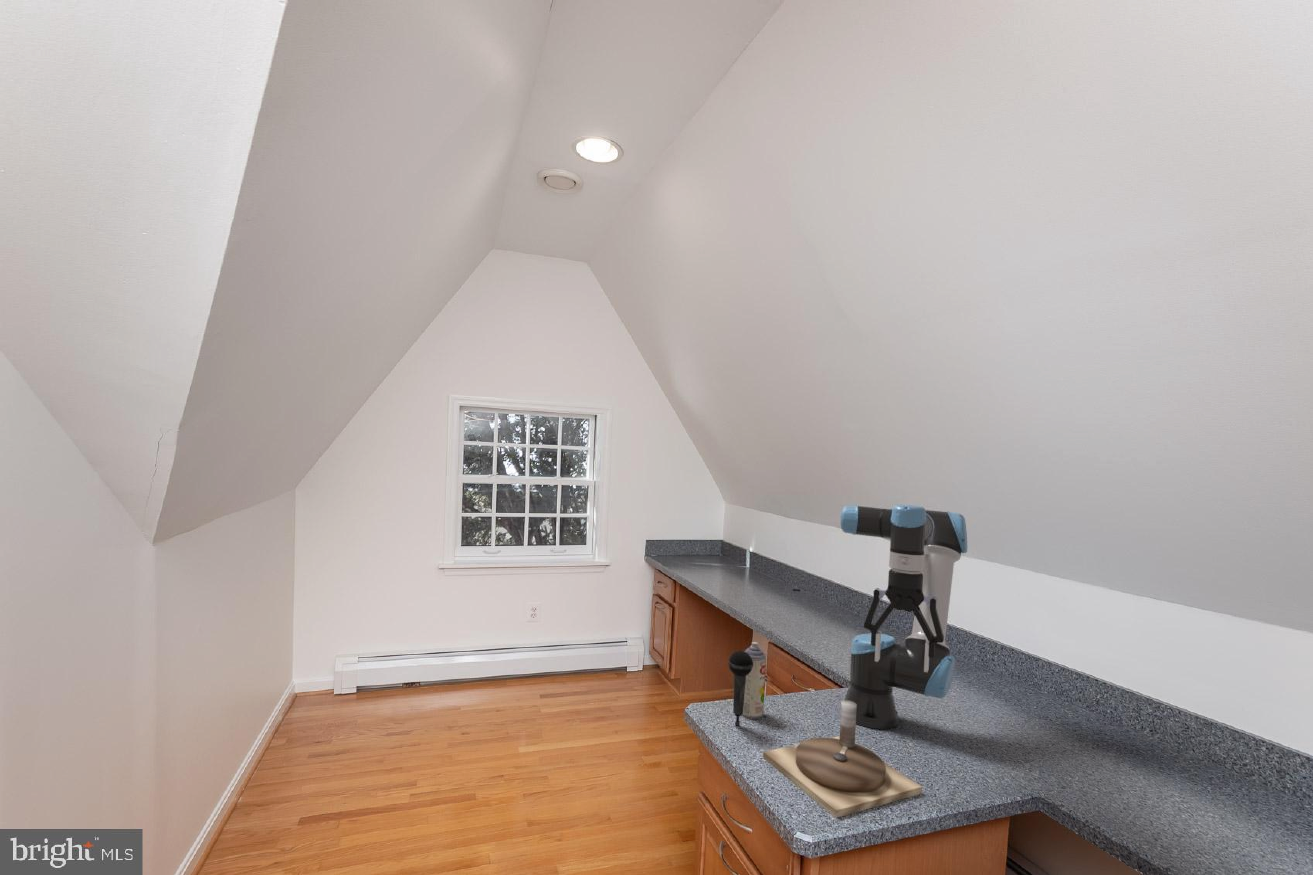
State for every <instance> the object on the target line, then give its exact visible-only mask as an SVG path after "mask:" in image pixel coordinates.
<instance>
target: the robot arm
mask: <svg viewBox="0 0 1313 875" xmlns="http://www.w3.org/2000/svg"><path fill="white" fill-rule="evenodd" d="M839 524H840V529H841V530H842V532H843V533H845V534H852V535H855V536H856V535H857V536H863V537H864V536H867V537H873V538H882V539H884V540H888V541H889V542H890V544H889V545H890V546H889V557H888V558H889V561H888V567H889V568H890V569H889V570H888V579H887V588H886V589H881V588H879V587H877V588H875V589H874V590H873V600H872V602H871V605H870V608H869V610H868V613H867V616H866V617H865V621H864V622H863V623H864V624H863V628H864V629H866V630H869V631H870V633H862V634H858V635H855V637H854V638H853V639H852V641H851V642H852V643H851V650H850V667H849V668H850V669H849V670H850V672H849V674H850V675H849V686H848V689H847V692H846V695H845V697H844V700H847V701H852V702H854V703H856V704H857V710H856V725H860V726H863V727H864V728H865V727H866V728H870V729H878V730H879V729H880V730H886V729H893V728H895V727H896V726H898V723H899V722H898V721H899V720H898V719H899V713H898V710H897V709H896V704H895V699H894V695H893V691H894V690H893V688H895V689H901V690H904V691H908V692H913V693H916V694H920V695H923V696H925V697H930V698H937V699H944V698H946V696H947V695H948V693H949V691H950V689H951V686H952V683H953V679H954V673H955V667H956V658H955V657H954V656H953V655H952V654H951V649H950V647H949V646H948V645H947V643H946V635H947V626H948V618H949V609H950V601H951V594H952V592H951V591H952V583H953V574H954V569H955V568H954V566H955V563H956V562H959V561H960V560H961V556H962V554H967V552H968V535H967V534H968V533H967V524H966V519H965V517H964V515H962V513H957V512H950V511H938V510H929V509H925V507H923V506H919V505H910V504H895V505H893V507H892V508H878V507H870V506H860V505H849V504H848V505H845V506H844V507H843V508H842V509H841V513H840V522H839ZM884 596H886V598H887V599H888V601H889V605H888V606H887V608H885V610H884V611H883V613H882V614H881V615H880V616H879V618H878V620H877V621H876V622H875V624H873V623H872V621H873V620H874V617H875V615H876V612H877V609H878V606H879V604H880V601H881V600H882V599H884ZM894 609H896V611H897V610H898V611H904V612H908V613H911V612H912V613H913V624H912V630H911V631H912V632H911V634H910V635H908V636H907V637H905V639H904V645H903V644H898V643H896V638H895V637H894V636H891V635H889V634H886V633H882V631H879V629H880V627H881V626H882V625H883V623H884V622H885V621H886V619H887V618H888V617H889V616H890V614H891V613H892V612H893V610H894Z"/></svg>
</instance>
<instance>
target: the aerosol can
mask: <svg viewBox="0 0 1313 875" xmlns="http://www.w3.org/2000/svg"><path fill="white" fill-rule="evenodd" d="M743 651H744V652H746V653H748V654H749V655H750V657H751V658H752V661H753V668H752V670H751V672H750V673H749V674H748V675H746V683H745V694H744V706H743V714H742V715H741V716H740V717H743V718H745V719H750V720H760V719H762V718H763V717H764V712H765V711H764V709H765V707H764V706H765V688H766V672H767V654H766V653H765V652H764V651H763V649H761V647H760V646H759V643H758V642H757V641H753V642H752V641H751V645H750V646H749V647H747V648H746V649H745V650H743Z"/></svg>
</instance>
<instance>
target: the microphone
mask: <svg viewBox="0 0 1313 875" xmlns="http://www.w3.org/2000/svg"><path fill="white" fill-rule="evenodd" d="M744 651H745V650H736V651H734V652H733V653H732V654H731V655H730V656H729V659H728V661H727V663H728V664H727V665H728V668H729V670H730V671H731V673H732V674H733V705H732V707H733V710H732V711H733V712H732V713H733V714H734V716H735V717H736V718H735V719H736V720H735V721H734V725H735V726H737V727H739V726H740V725H741V722H740V717H742V716H741V715H742V714H743V706H744V694H745V683H746V675H748V674H749V673H750V672H751V670H752V668H753V661H752V658H751V657H750V655H749V654H748V653H746V652H744Z"/></svg>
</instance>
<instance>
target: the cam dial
mask: <svg viewBox="0 0 1313 875" xmlns="http://www.w3.org/2000/svg"><path fill="white" fill-rule="evenodd" d="M856 710H857V704H856V703H854V702H852V701H847V700H845V699H844V700H841V702H840V724H839V726H840V727H839V736H840V739H835V738H832V737H814V738H808V739H806V740H804V741H801V742H800V743H799V745H798V744H797V745H798V746H797V748H796V764H797V766H798V768H799V769H800V770H801V771H802V772H803V773H804V774H805V775H806V776H808V777H809V778H811V779H812V780H814V781H816V782H818V783H820V784H822V785H825V786H828V787H830V788H834V789H838V790H843V791H850V792H866V791H872V790H875V789H877V788H879V787H881V786H882V785H883V784H884V782H885V776H886V767H885V764H884V763H885V762H884V761H883V760H882V758H881V757H880V756H879V755H878V754H876V753H875V752H873V751H872V750H870V749H868V748H867V747H865V746H862V745H860V744H857V743H856V731H857V730H856V727H857V726H856V725H857V724H856Z"/></svg>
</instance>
